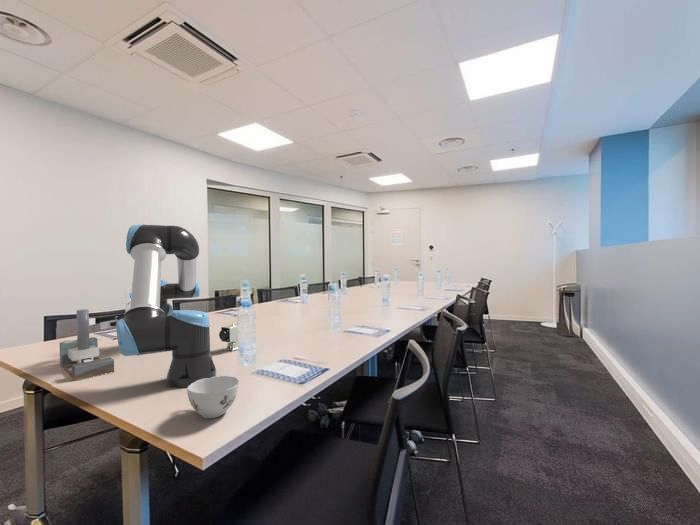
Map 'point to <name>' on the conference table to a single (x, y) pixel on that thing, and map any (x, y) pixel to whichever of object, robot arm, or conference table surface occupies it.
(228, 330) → the pneumatic valve
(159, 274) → the robot arm
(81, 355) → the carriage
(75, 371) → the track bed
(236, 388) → the white floral bowl
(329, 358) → the conference table surface
